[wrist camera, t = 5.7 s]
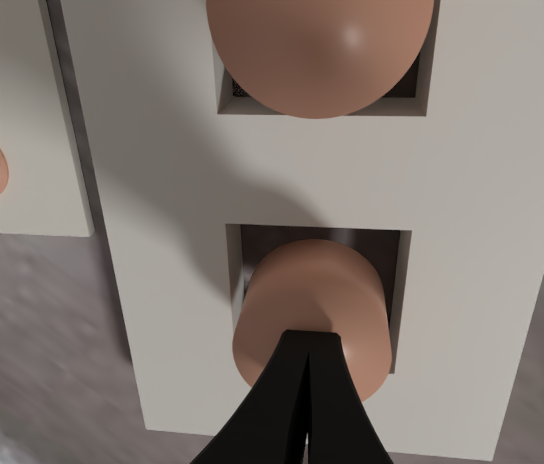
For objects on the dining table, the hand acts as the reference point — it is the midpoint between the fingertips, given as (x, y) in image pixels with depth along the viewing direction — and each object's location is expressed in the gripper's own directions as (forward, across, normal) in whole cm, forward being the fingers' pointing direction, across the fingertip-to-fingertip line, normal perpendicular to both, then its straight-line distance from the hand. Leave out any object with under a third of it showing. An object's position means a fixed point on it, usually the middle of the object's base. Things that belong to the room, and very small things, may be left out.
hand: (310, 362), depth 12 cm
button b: (+3, 0, -8) cm, 8 cm away
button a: (+3, 0, 0) cm, 3 cm away
